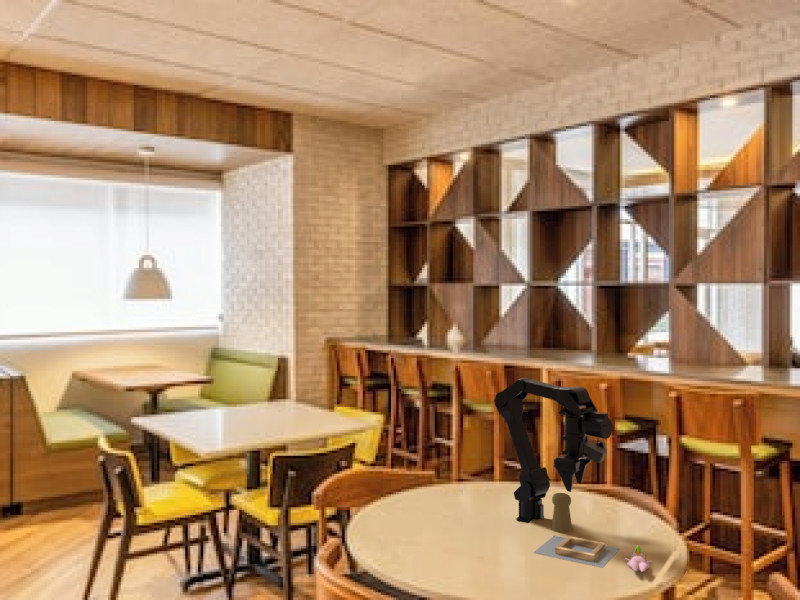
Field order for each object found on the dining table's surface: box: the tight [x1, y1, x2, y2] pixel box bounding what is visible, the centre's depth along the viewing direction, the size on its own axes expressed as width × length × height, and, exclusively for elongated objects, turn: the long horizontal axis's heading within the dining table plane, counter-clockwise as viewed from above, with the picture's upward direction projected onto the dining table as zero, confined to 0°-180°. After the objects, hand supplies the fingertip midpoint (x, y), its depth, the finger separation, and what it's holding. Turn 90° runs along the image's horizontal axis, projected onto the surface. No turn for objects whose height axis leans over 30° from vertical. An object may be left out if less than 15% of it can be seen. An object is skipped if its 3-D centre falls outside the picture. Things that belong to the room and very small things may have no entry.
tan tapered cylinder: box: [550, 492, 573, 534], centre depth 193 cm, size 6×6×11 cm
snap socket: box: [555, 535, 607, 562], centre depth 176 cm, size 10×10×2 cm
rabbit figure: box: [624, 544, 652, 573], centre depth 166 cm, size 6×6×15 cm
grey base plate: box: [532, 535, 621, 568], centre depth 177 cm, size 18×15×1 cm
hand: (574, 487), depth 192 cm, fingers open, 9 cm apart
